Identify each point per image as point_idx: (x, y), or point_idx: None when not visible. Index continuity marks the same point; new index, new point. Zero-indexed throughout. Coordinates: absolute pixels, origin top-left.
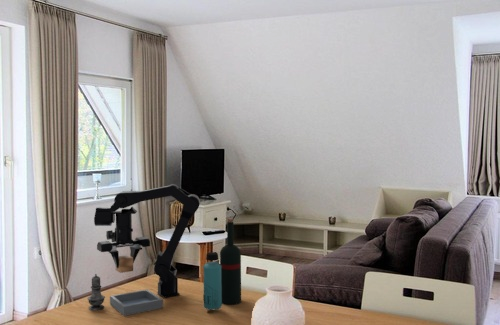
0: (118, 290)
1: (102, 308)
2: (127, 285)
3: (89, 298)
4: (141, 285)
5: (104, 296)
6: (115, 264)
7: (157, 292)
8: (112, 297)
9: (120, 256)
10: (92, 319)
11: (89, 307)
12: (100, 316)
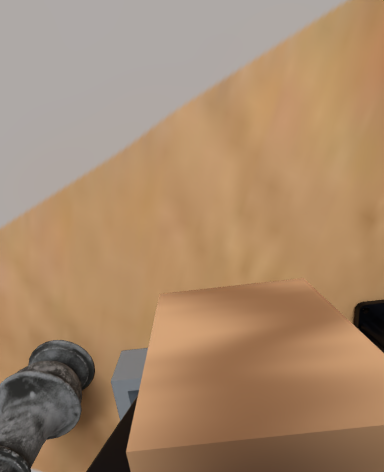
0: (202, 157)
1: (84, 388)
2: (280, 73)
3: (1, 414)
4: (353, 118)
5: (77, 409)
6: (133, 414)
7: (359, 311)
8: (119, 405)
9: (239, 470)
10: (42, 464)
11: (31, 361)
12: (70, 451)
